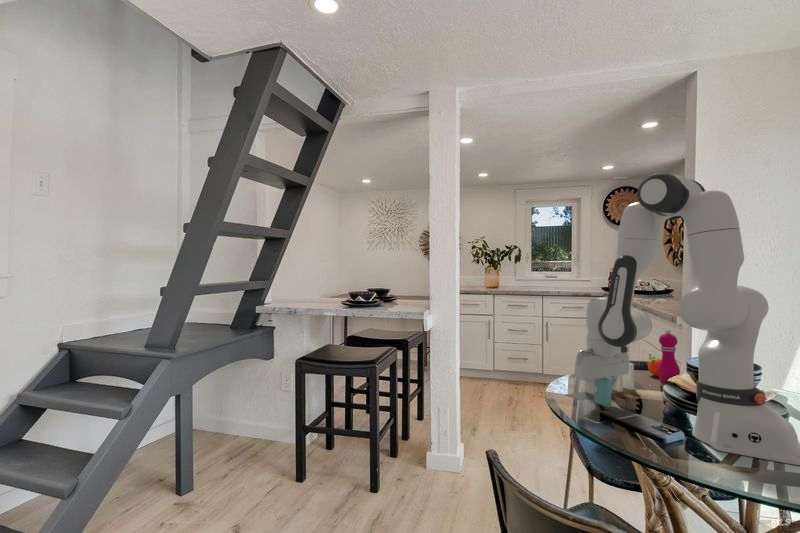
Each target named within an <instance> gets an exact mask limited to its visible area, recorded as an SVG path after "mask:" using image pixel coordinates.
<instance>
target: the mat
mask: <svg viewBox="0 0 800 533" xmlns="http://www.w3.org/2000/svg"><path fill="white" fill-rule="evenodd" d="M636 390H637V391H638V388H637V387H634V389H633V390H630V389H626V388H623V391H622V392H619V391H616V390H612V393H611V395H613V394H620V393H626V392H630V391H636ZM565 396H566V397H569V398H571V399H575V400H577V401H580V400H585V399H590V398H595V396H594V395H593V394H590V393H587V392H585V390H584V391H579V392H574V393H573V392H572V393H568V394H567V393H566V394H565Z"/></svg>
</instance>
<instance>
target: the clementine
mask: <svg viewBox="0 0 800 533" xmlns="http://www.w3.org/2000/svg"><path fill="white" fill-rule="evenodd" d="M660 362H661V359H660V358H652V359H650V360H648V361H647V362H646V364H647V369H648V372H649V373H650V374H651V375H653V376H654V377H659V376H661V374H660V373H659V372H658V365H659V363H660Z"/></svg>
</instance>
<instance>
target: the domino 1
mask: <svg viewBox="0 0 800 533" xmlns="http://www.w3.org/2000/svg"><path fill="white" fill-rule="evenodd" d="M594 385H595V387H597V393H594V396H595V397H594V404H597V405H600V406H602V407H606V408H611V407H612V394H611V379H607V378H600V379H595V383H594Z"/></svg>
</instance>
